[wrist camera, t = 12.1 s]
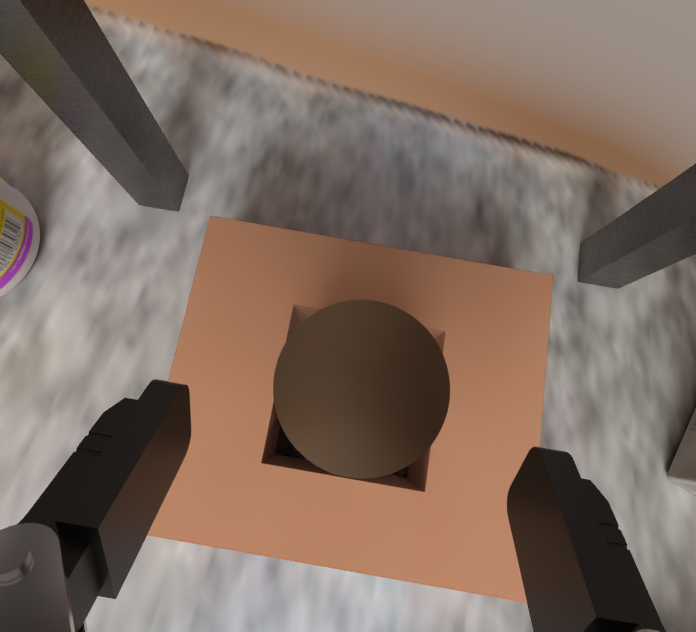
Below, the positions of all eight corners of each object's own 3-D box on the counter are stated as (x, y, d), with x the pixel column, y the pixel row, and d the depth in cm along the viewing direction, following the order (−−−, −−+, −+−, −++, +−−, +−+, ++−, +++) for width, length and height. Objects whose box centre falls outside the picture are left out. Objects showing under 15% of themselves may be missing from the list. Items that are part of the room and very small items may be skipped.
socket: (169, 509, 20) (129, 531, 16) (231, 250, 23) (210, 215, 19) (489, 566, 20) (527, 602, 16) (514, 299, 22) (553, 275, 19)
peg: (292, 440, 21) (256, 462, 11) (310, 344, 22) (291, 286, 12) (388, 457, 21) (438, 493, 11) (402, 360, 22) (459, 314, 12)
